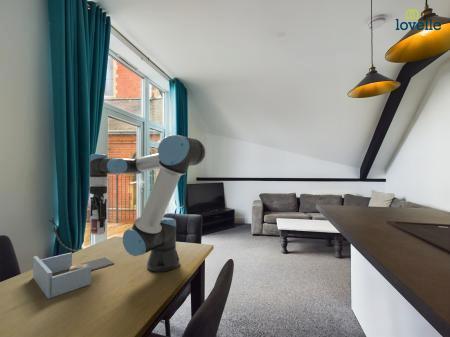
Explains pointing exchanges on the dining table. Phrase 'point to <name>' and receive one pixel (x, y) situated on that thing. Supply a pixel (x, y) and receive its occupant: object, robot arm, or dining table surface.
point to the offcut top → (77, 267)
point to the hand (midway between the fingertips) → (97, 232)
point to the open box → (62, 281)
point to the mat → (99, 263)
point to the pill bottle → (95, 223)
